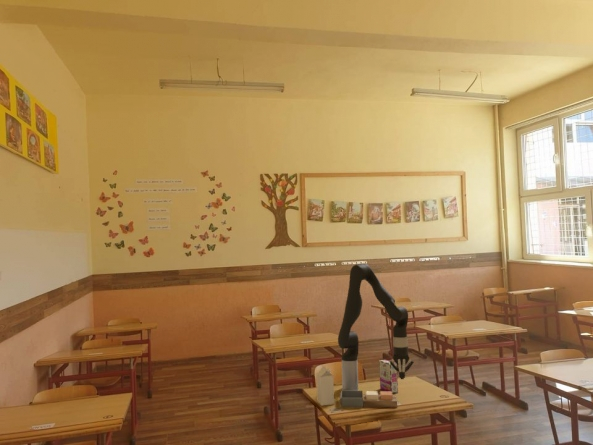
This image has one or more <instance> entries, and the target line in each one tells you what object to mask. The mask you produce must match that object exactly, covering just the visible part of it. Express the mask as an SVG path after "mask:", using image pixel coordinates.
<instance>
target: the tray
mask: <svg viewBox="0 0 593 445" xmlns="http://www.w3.org/2000/svg"><path fill="white" fill-rule="evenodd" d="M363 394H364V393H363V390H359V389H358V390H343V389H342V390H340V399H339V400H340V408H362V409H363V408H364V402H363Z"/></svg>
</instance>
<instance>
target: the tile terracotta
mask: <svg viewBox="0 0 593 445" xmlns="http://www.w3.org/2000/svg"><path fill="white" fill-rule="evenodd" d="M379 394H380V397H381V400H393V395H394V394H393V393H392V391H384V390H382V391H379Z"/></svg>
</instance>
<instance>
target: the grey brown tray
mask: <svg viewBox="0 0 593 445" xmlns="http://www.w3.org/2000/svg"><path fill="white" fill-rule="evenodd" d="M392 395H393V400H381V397H380V393H378V400H374V399H366V393H365V394H364V393H363V408H398V400H397V396H396V394H392Z"/></svg>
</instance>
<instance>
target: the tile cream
mask: <svg viewBox="0 0 593 445" xmlns="http://www.w3.org/2000/svg"><path fill="white" fill-rule="evenodd" d="M365 394H366V399H374V400H378V394H379V393H378V390H377V391H376V390H375V391H373V390H369V391H368V390H367V391H366V390H365Z"/></svg>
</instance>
